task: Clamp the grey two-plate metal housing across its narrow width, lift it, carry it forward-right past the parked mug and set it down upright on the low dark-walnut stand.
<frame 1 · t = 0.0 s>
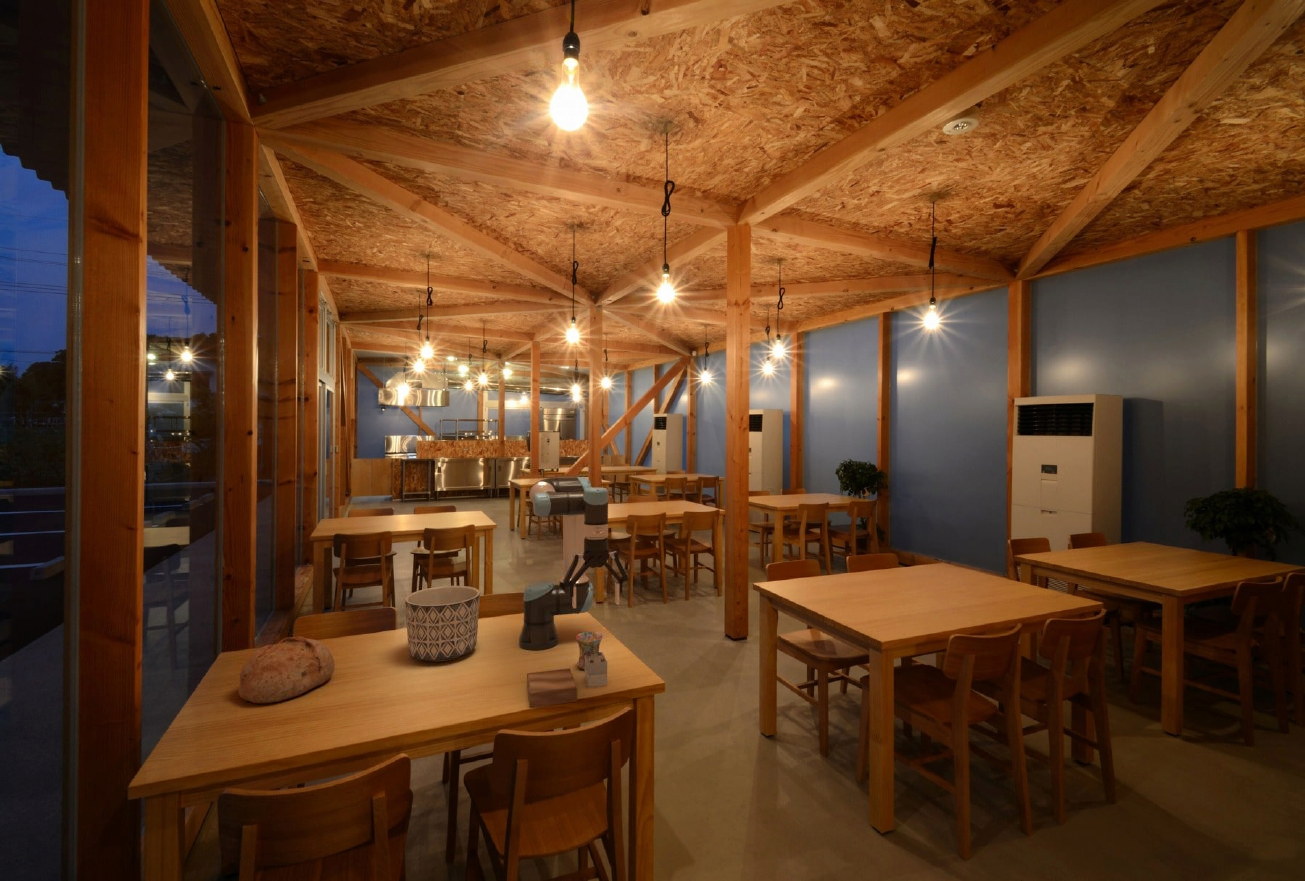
hand: (595, 605, 173), 28 cm above the table, fingers open, 13 cm apart
planter: (443, 654, 206), on the table
bread: (287, 688, 178), on the table
mug: (588, 665, 196), on the table
stand: (551, 693, 174), on the table
housing: (595, 681, 182), on the table
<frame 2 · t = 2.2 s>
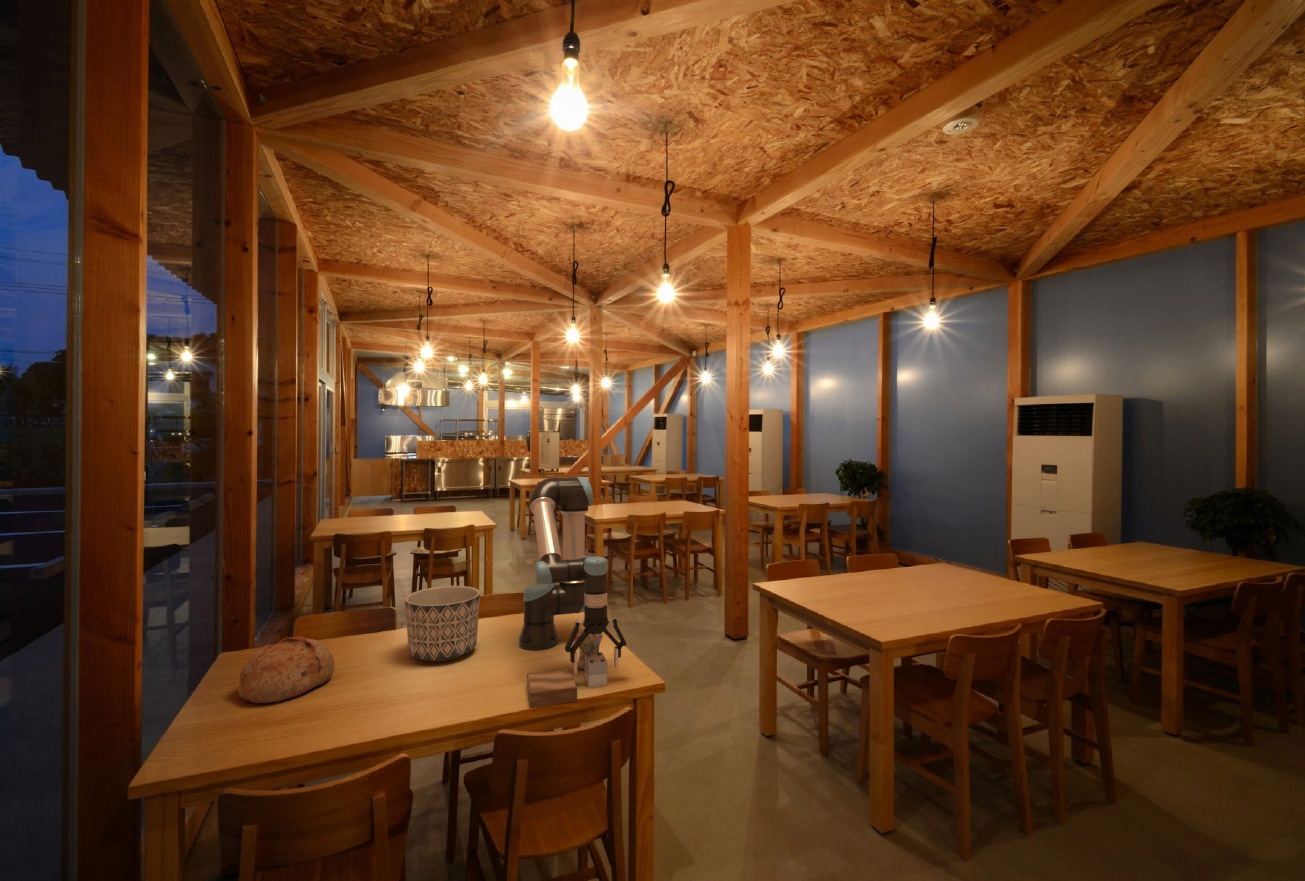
hand: (595, 669, 182), 4 cm above the table, fingers open, 13 cm apart
nothing on the table moved.
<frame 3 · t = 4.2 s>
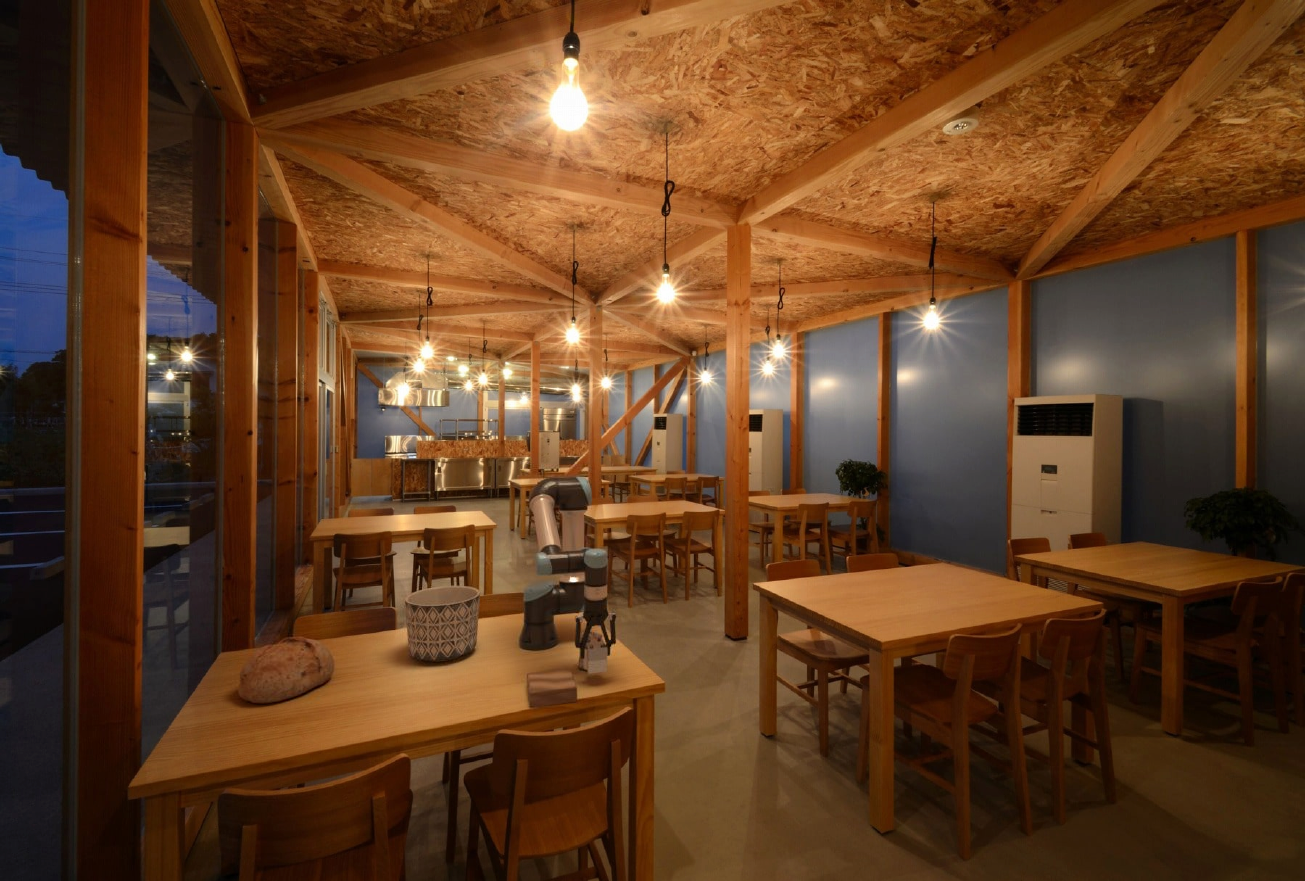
hand: (595, 666, 183), 5 cm above the table, fingers closed on housing, 6 cm apart
housing: (595, 667, 183), point 4 cm above the table, touching gripper
everything else where it was.
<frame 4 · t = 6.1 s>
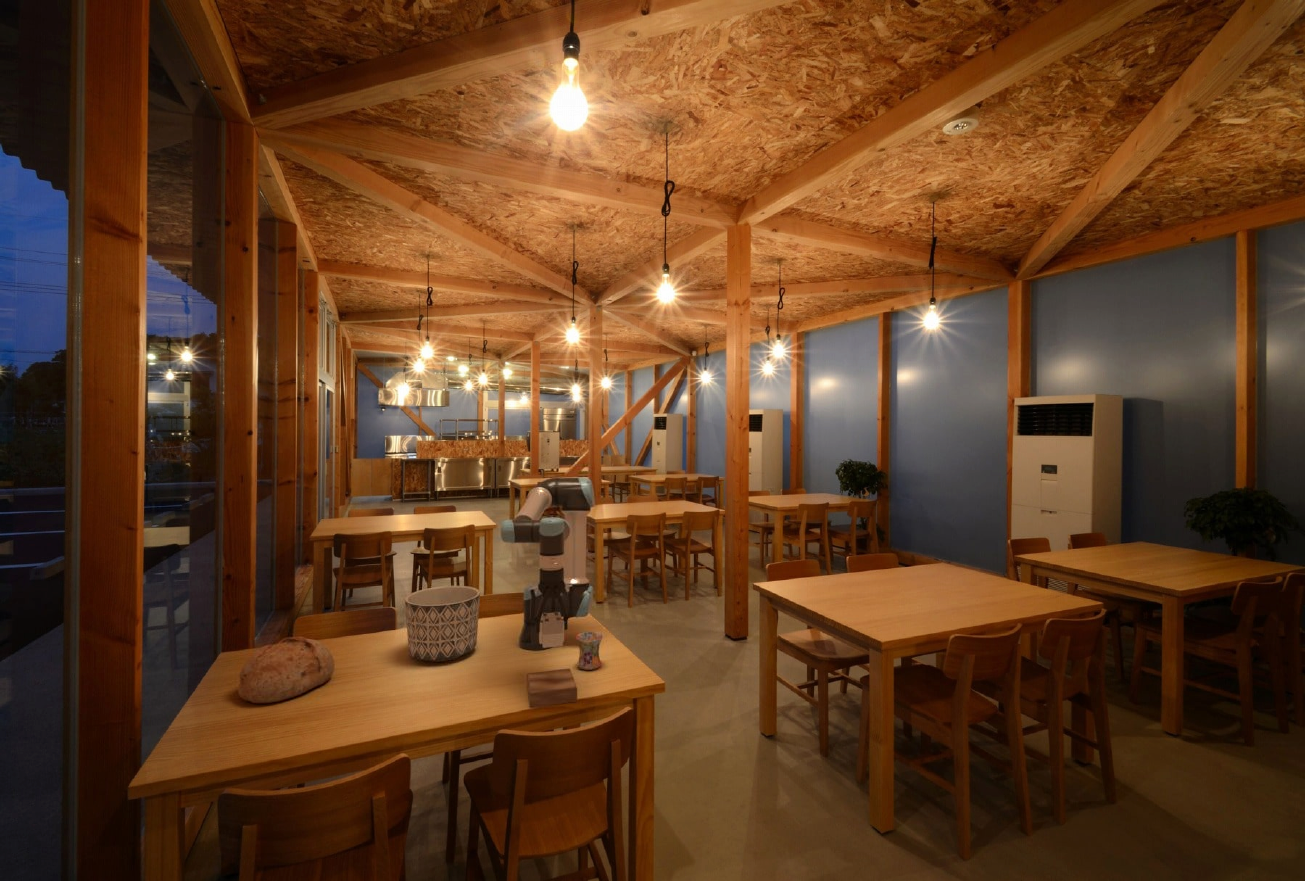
hand: (551, 641, 174), 16 cm above the table, fingers closed on housing, 6 cm apart
housing: (551, 642, 174), point 16 cm above the table, touching gripper
everything else where it was.
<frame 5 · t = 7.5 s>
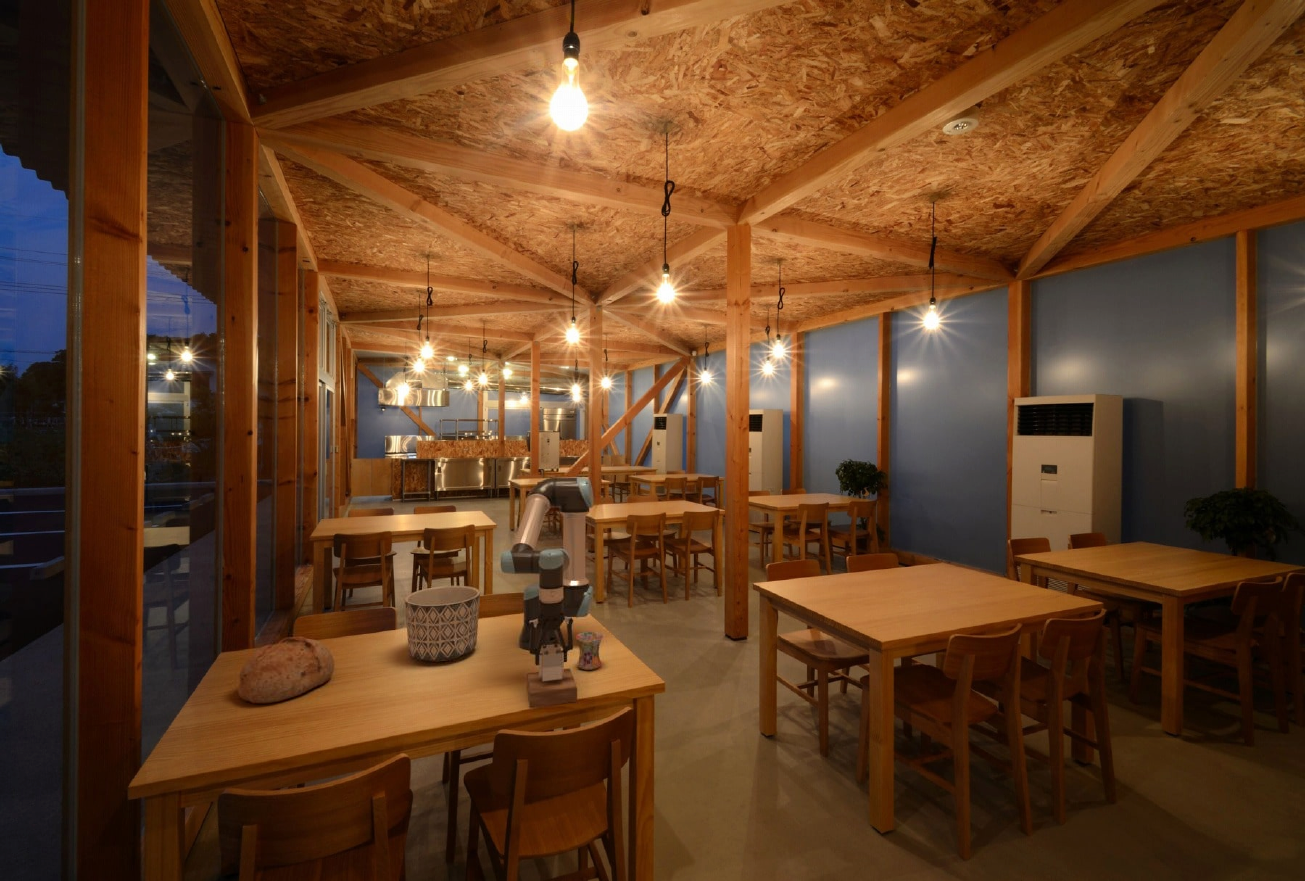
hand: (551, 673, 174), 6 cm above the table, fingers closed on housing, 6 cm apart
housing: (551, 674, 174), point 6 cm above the table, touching gripper
everything else where it was.
when the fingers open (5 cm above the table, at t = 8.1 s): housing stays where it is, resting on stand.
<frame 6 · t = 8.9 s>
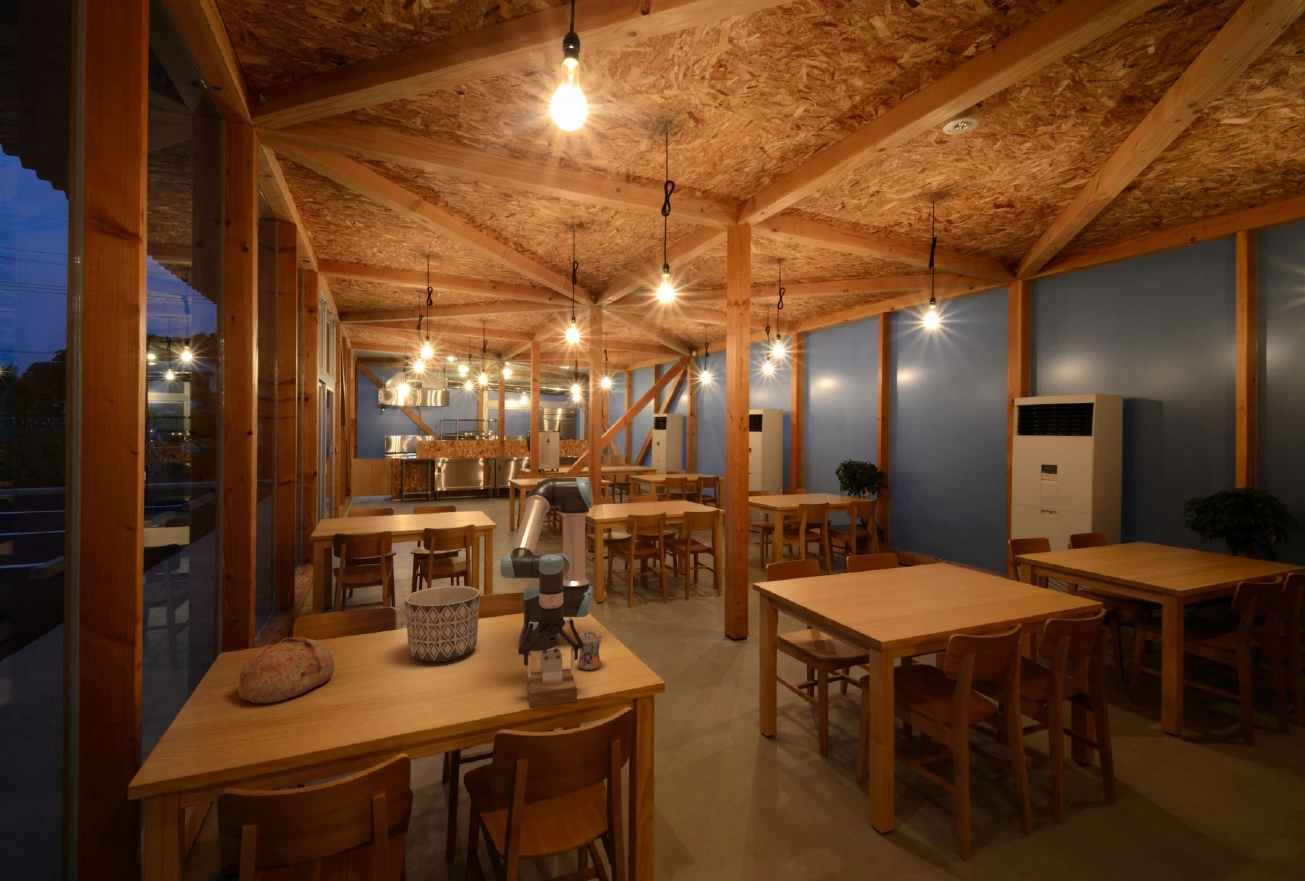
hand: (551, 672, 174), 7 cm above the table, fingers open, 13 cm apart
housing: (551, 679, 174), point 4 cm above the table, touching stand
everything else where it was.
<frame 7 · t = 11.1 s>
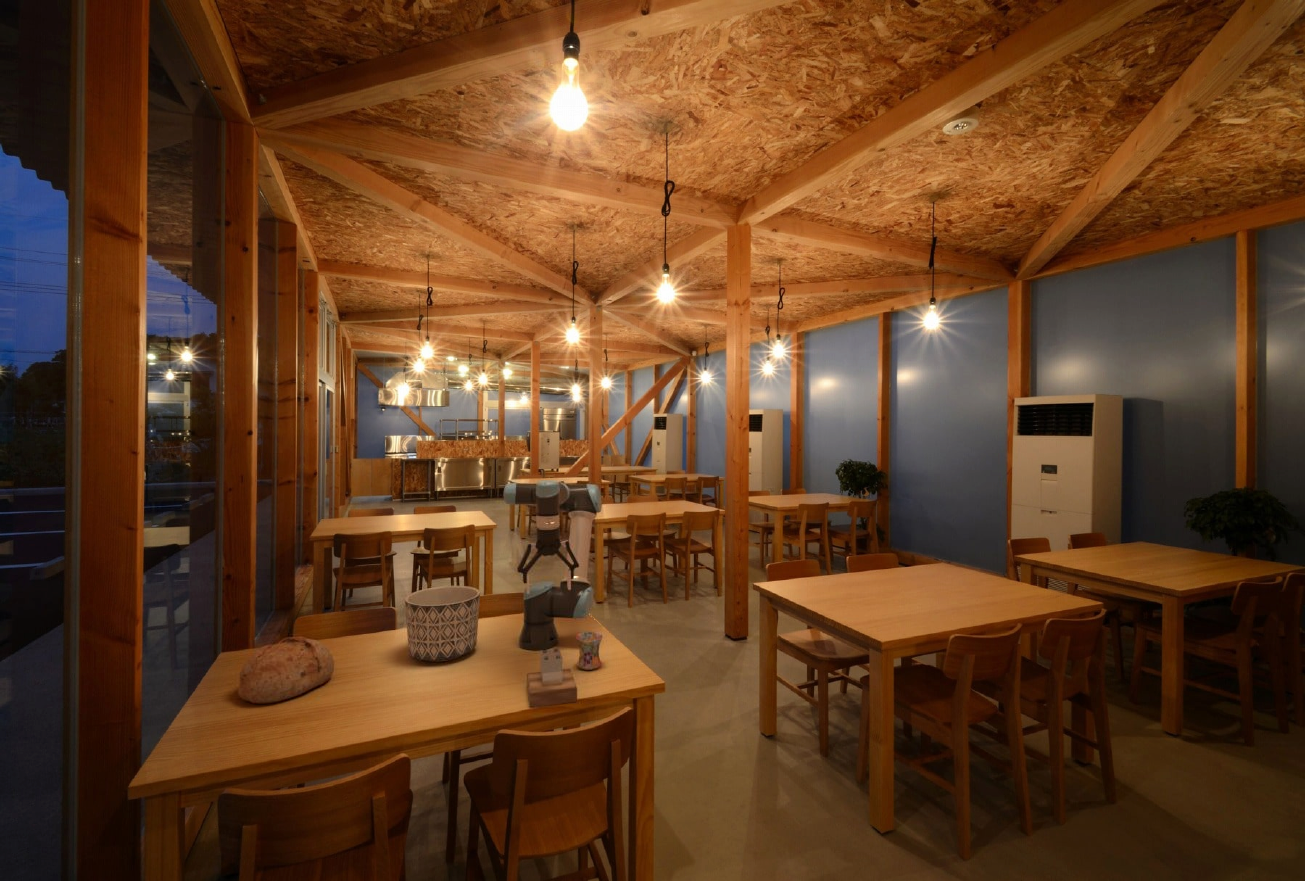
hand: (548, 590, 185), 29 cm above the table, fingers open, 13 cm apart
nothing on the table moved.
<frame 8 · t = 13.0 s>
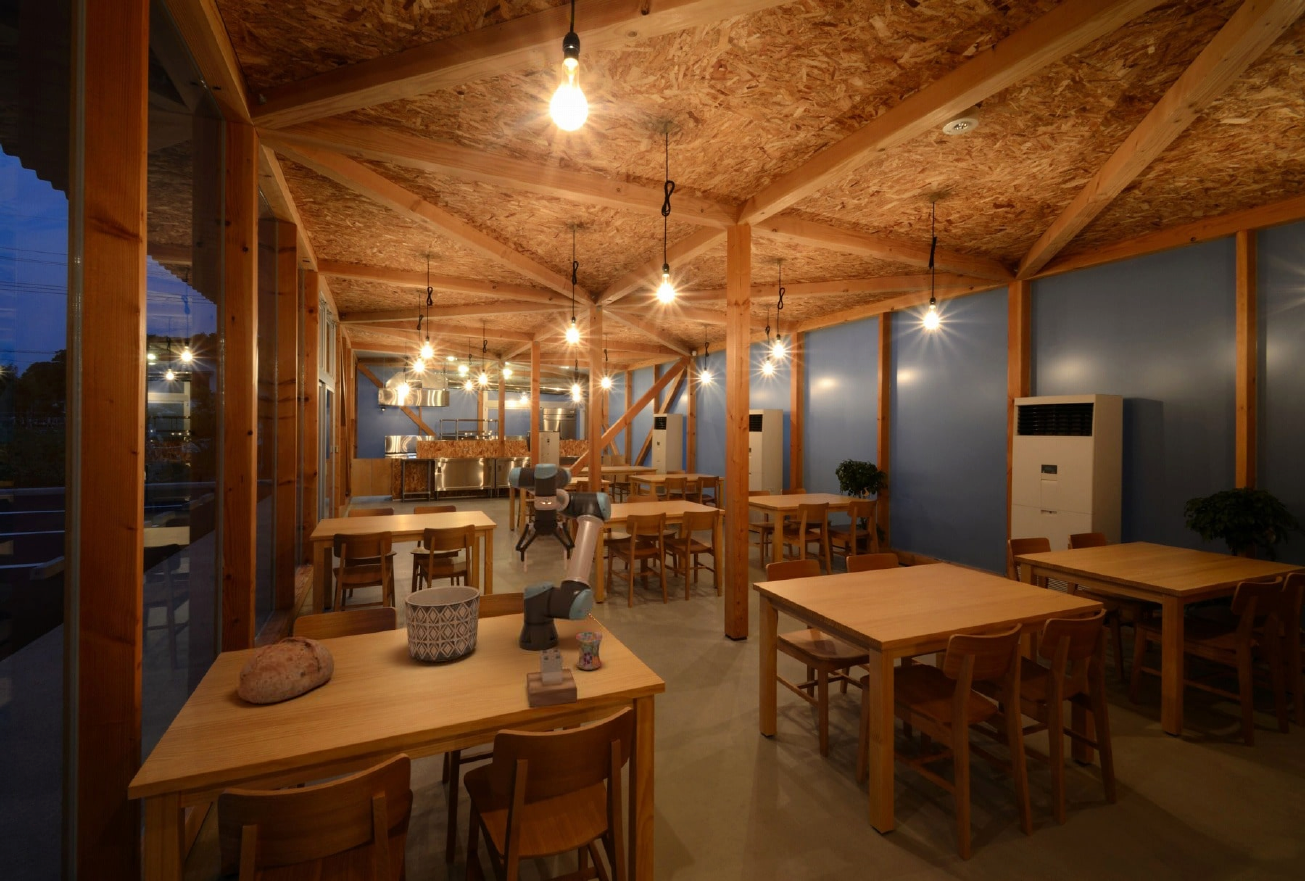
hand: (545, 569, 191), 35 cm above the table, fingers open, 13 cm apart
nothing on the table moved.
at the end: housing inside the target area on the stand (0.1 cm from its centre), point 4.2 cm above the stand's base; housing tilted 0°; the gripper is holding nothing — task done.
